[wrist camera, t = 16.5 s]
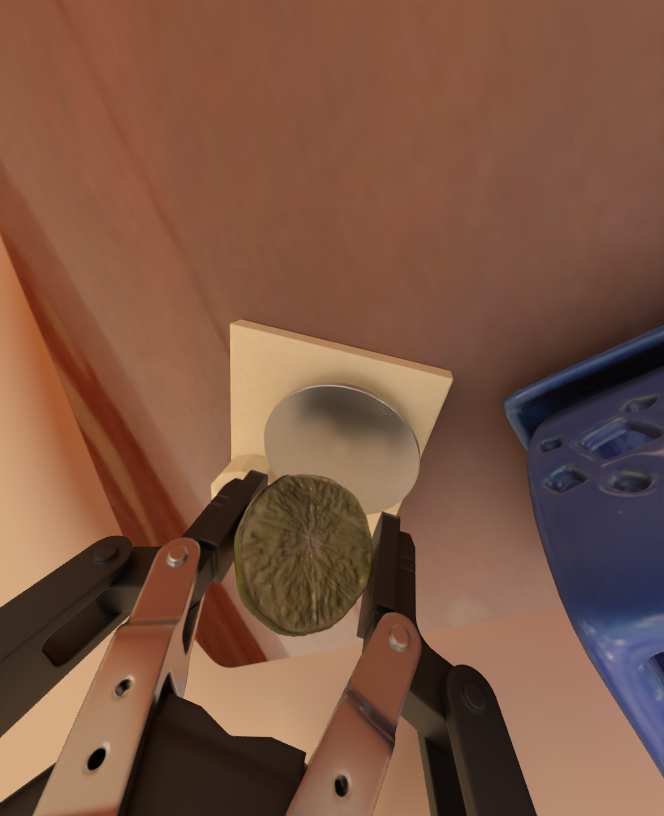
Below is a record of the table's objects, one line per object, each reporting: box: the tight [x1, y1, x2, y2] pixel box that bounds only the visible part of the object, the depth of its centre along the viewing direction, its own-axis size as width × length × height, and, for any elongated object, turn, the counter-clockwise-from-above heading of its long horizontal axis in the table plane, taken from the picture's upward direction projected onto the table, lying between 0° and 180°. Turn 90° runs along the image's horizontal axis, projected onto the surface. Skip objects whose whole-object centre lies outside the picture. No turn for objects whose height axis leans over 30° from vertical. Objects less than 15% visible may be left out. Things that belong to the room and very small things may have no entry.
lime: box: [234, 474, 372, 637], centre depth 11 cm, size 4×5×5 cm
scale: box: [211, 319, 453, 536], centre depth 18 cm, size 14×12×3 cm
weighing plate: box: [264, 382, 420, 515], centre depth 15 cm, size 8×8×1 cm
